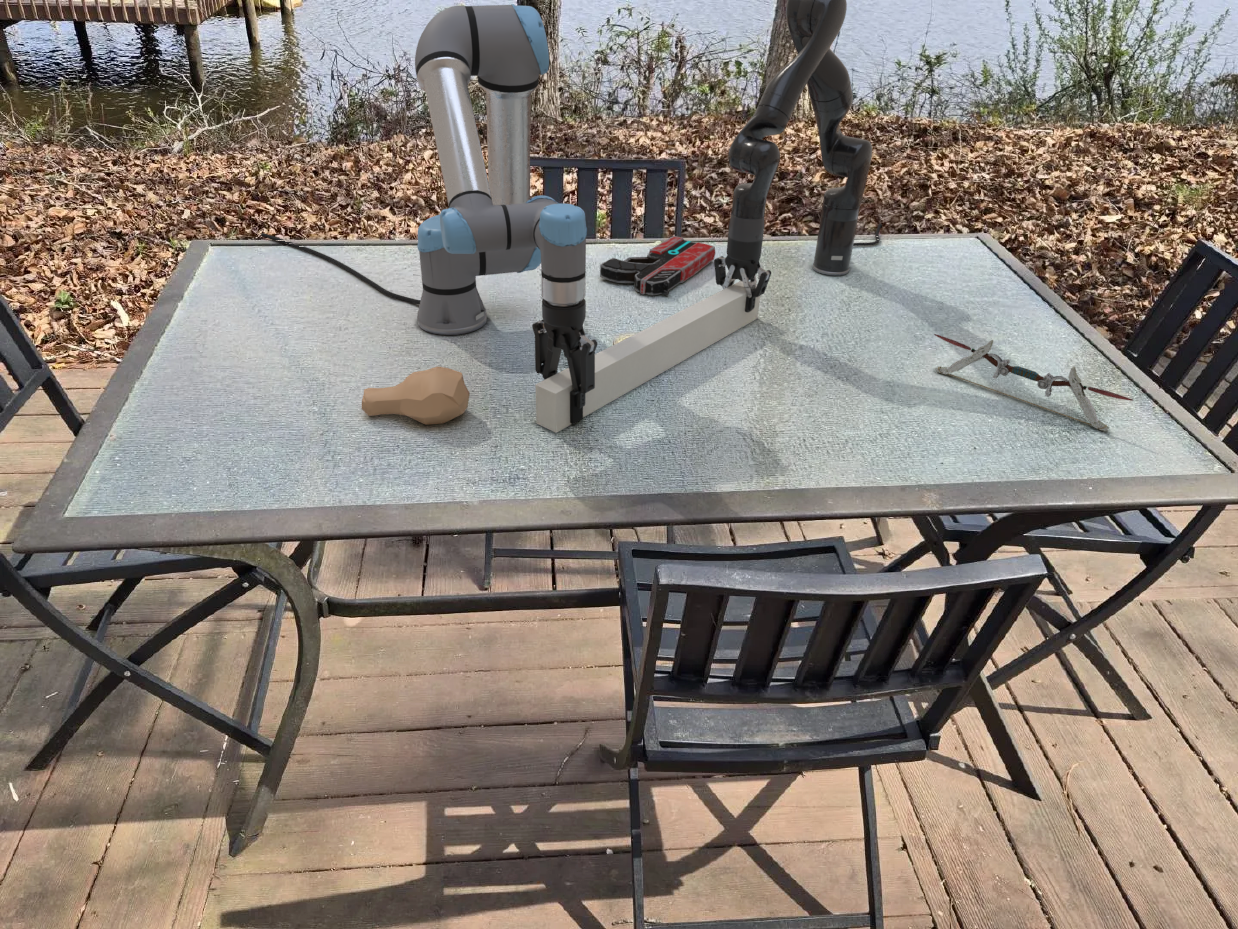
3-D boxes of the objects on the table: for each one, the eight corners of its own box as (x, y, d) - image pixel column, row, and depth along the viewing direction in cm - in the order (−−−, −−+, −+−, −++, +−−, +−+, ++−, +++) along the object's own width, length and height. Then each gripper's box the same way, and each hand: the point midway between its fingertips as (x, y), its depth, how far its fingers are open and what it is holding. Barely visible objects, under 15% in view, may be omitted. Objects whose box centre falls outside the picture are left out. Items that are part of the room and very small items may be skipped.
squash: (470, 431, 159) (458, 392, 152) (363, 439, 160) (347, 401, 154) (477, 393, 166) (467, 355, 160) (375, 401, 168) (361, 364, 162)
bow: (1121, 433, 163) (1140, 386, 158) (1118, 437, 162) (1137, 389, 156) (928, 365, 184) (939, 321, 179) (924, 368, 183) (935, 324, 178)
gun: (594, 265, 215) (663, 284, 207) (655, 228, 237) (719, 244, 229) (593, 282, 218) (662, 301, 210) (654, 244, 240) (718, 261, 232)
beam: (556, 433, 159) (555, 393, 154) (536, 423, 161) (535, 384, 157) (757, 318, 203) (761, 285, 198) (739, 312, 205) (743, 279, 201)
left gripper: (618, 306, 148) (615, 424, 161) (541, 278, 157) (544, 392, 170) (588, 320, 143) (588, 440, 156) (510, 290, 152) (516, 406, 165)
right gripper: (783, 238, 188) (773, 311, 197) (727, 222, 195) (721, 294, 205) (764, 247, 183) (755, 322, 192) (708, 231, 191) (702, 303, 200)
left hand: (565, 415), depth 163 cm, fingers closed on beam, 5 cm apart
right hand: (737, 307), depth 199 cm, fingers closed on beam, 5 cm apart
